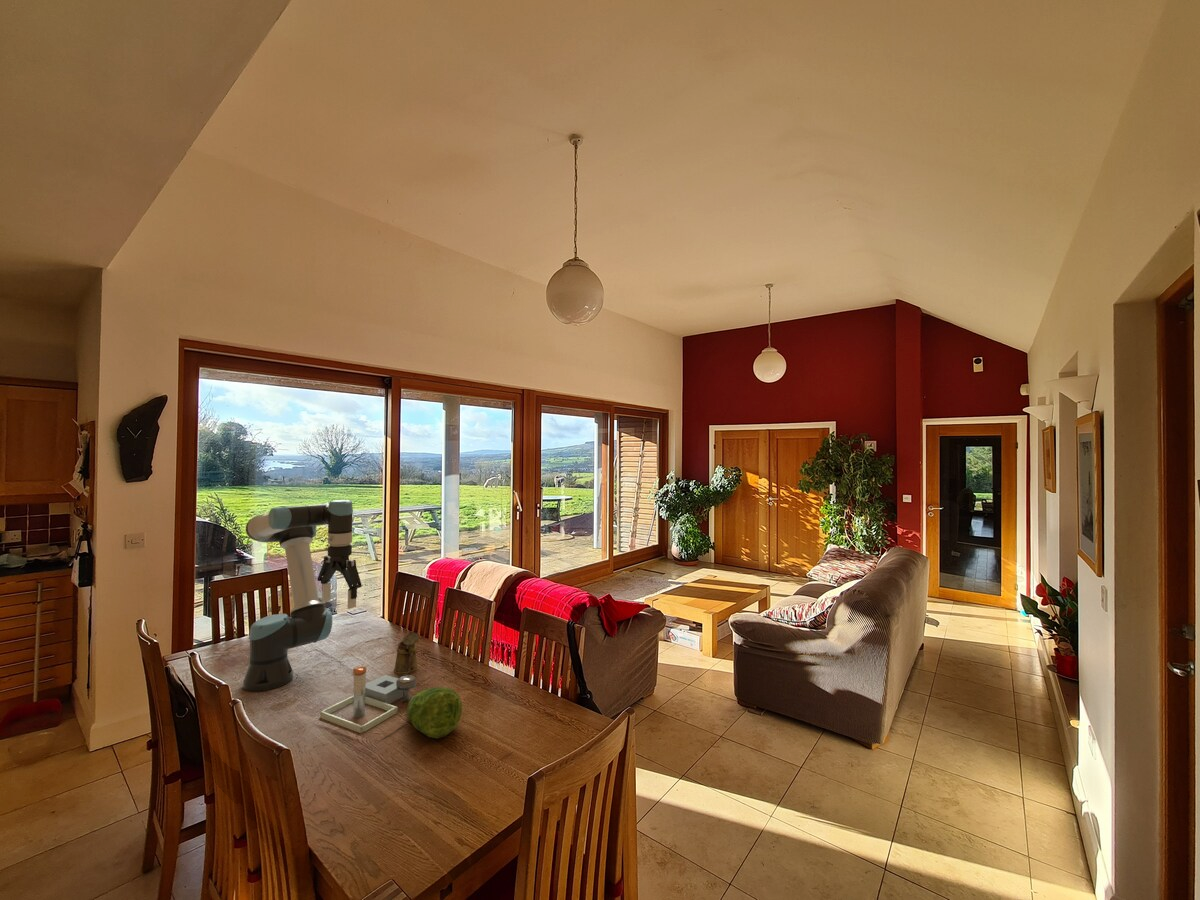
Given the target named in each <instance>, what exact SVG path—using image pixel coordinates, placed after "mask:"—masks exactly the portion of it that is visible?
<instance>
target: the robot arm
mask: <svg viewBox="0 0 1200 900" xmlns="http://www.w3.org/2000/svg"><path fill="white" fill-rule="evenodd" d="M353 507H354V506H353V502H352V500H348V499H335V500H331V501H329V502H322V503H318V504H307V505H306V504H305V505H290V506H284V505H282V506H276V507H272V508H270V510H269V511H268V513H263V514H257V515H256V516H253V517H252V518H250V519H249V520H248V521H247V522H246V524H245V533H246V535H247V537H249V539H252V541H255V542H258V543H265V544H266V543H267V544H268V543H276V542H277V543H278V542H279V546H280V548H281V549H282V550H284V551H285V557H286V558H285V559H286V564H287V570H288V577H289V582H290V583H289V584H290V585H289V586H290V591H291V597H292V602H293V603H292V604H293V608H292V609H291V611H290V612H289V615H290V616H289V615H288V614H287V613H274V614H271V615H267V616H264V617H261V618H260V619H257V620H256V621H254V622H253V624H251V626H250V629H249V637H248V638H249V665H248V667H247V669H246V670H247V671H246V673H245V675H244V679H243V681H242V686H243V687H242V689H243V690H245V691H247V692H265V691H269V690H273V689H278V688H279V687H282V686H284V685H287V683H289V682H291V681H292V680H293V674H294V670H293V667H292V666H291V663H290V659H289V657H288V650H290V649H294V648H298V647H302V646H305V645H310V644H312V643H313V644H315V643H317V642H320V641H323V640H326V639H327V638H328V637H329V636H330V634H331V631H332V629H333V613H332V611H331V609H330V608H327V607H325V604H324V603H328V602H331V597H332V596H331V595H332V593H331V590H332V589H331V588H332V583H331V582H332V581H331V579H332V578H333V576H334V575H335V573H336V572H339V573H340V574H341V575H342V576H343V578H344V579H345V582H346V584H347V586H348V590H347V609H348V610H350V609H354V608H356V607H357V597H358V589H359V588H360V589H361V588H362V587H363V585H362V582H361V578H360V575H359V571H358V568H357V561H356V559H351V560H350V556H351V555H352V553H353V550H352V548H353V545H352V542H353V513H354V509H353ZM326 525H327V544H328V546H327V556H326V555H325V556H324V557H323V561H322V562H323V563H322V566H321V568H320V571H319V574H318V576H317V582H320V584H321V601H320V600H319V593H318V588H317V582H316V576H315V571H314V565H313V558H312V553H311V546H310V544H311V543H312V542H313V541H314V539H313V538H315V537H316V535H317V526H326Z"/></svg>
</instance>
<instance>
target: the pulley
mask: <svg viewBox="0 0 1200 900" xmlns="http://www.w3.org/2000/svg"><path fill="white" fill-rule="evenodd" d="M417 680H418V678H417V677H416V676H414V675H411V674H405V675H402V676H400V677H399V678H398V680H397V681H396V688H397V689H399V690H403V697H402V698H403V699H402V701H403V703H407V702H408V703H409V701H410V700H411V699H410V697H411V695H410V694H411V693H410V692H411V690H412V689H413V688H415V687H416V686H417V682H418V681H417Z"/></svg>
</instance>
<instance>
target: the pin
mask: <svg viewBox="0 0 1200 900" xmlns="http://www.w3.org/2000/svg"><path fill="white" fill-rule="evenodd" d="M352 673H353V695H354V700H353V702H352V707H353V709H352V710H353V712H352V717H353V718H355V719H359V718H362V717H364V716H365V715H366V703H365V685H366V684H367V681H366V675H367V674H366V673H367V666H357V667H354V668H353V670H352Z"/></svg>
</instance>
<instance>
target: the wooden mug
mask: <svg viewBox="0 0 1200 900" xmlns="http://www.w3.org/2000/svg"><path fill="white" fill-rule="evenodd" d="M420 637H421V636H420V634H419V632H413V631H412V632H410V633H409V634H407V635H406V636H404V637H403V640H402V641H399V643H398V645H397V647H396V658H395V663H394V668H393V673H394V674H396V675H400V676H401V675H402V676H406V675H411V674H413V673H415V672H417V671H418V670H419V664H418V660H417V650H418V649H417V645H416V643H417V642H418V641H419V639H420Z"/></svg>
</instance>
